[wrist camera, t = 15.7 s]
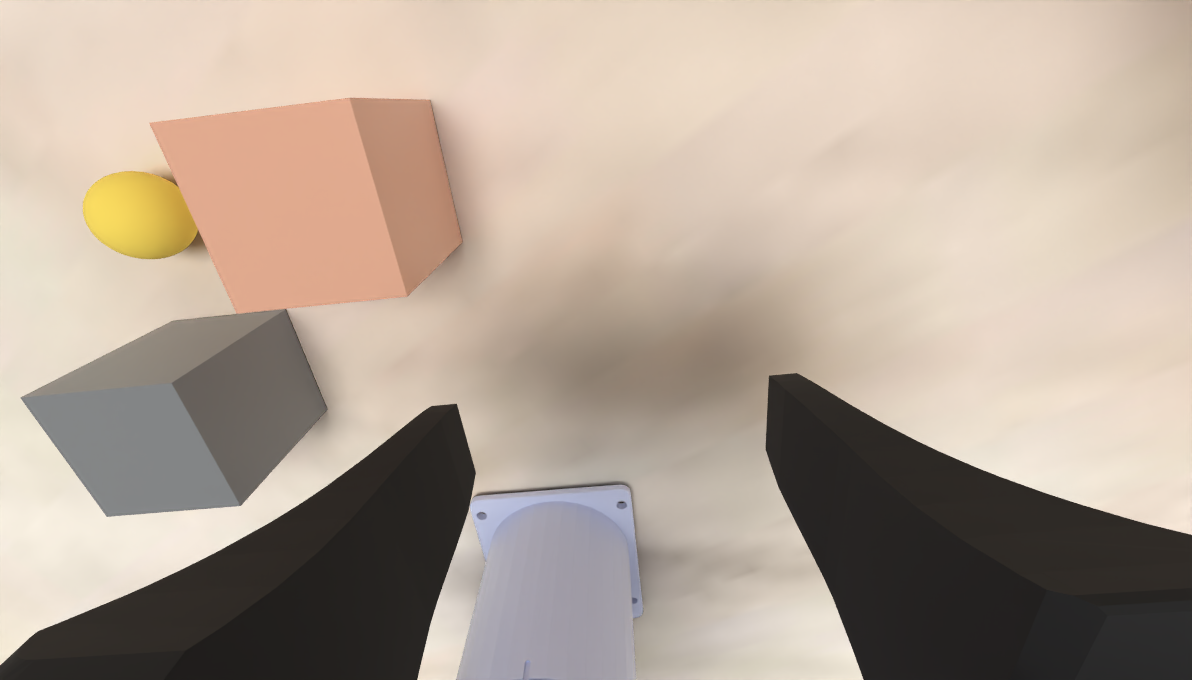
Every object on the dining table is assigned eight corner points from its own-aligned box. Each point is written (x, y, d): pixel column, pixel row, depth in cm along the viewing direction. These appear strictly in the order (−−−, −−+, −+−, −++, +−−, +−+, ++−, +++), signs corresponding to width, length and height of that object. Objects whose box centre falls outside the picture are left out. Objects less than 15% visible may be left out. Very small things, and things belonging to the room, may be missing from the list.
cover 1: (462, 242, 19) (407, 296, 14) (338, 255, 19) (236, 313, 14) (430, 99, 17) (349, 98, 12) (291, 117, 17) (149, 123, 12)
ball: (231, 242, 19) (171, 265, 17) (159, 250, 19) (88, 274, 17) (196, 161, 18) (124, 172, 15) (119, 171, 18) (35, 182, 15)
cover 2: (327, 409, 23) (240, 505, 17) (224, 419, 23) (107, 516, 17) (285, 309, 20) (171, 382, 15) (172, 321, 21) (20, 397, 15)
